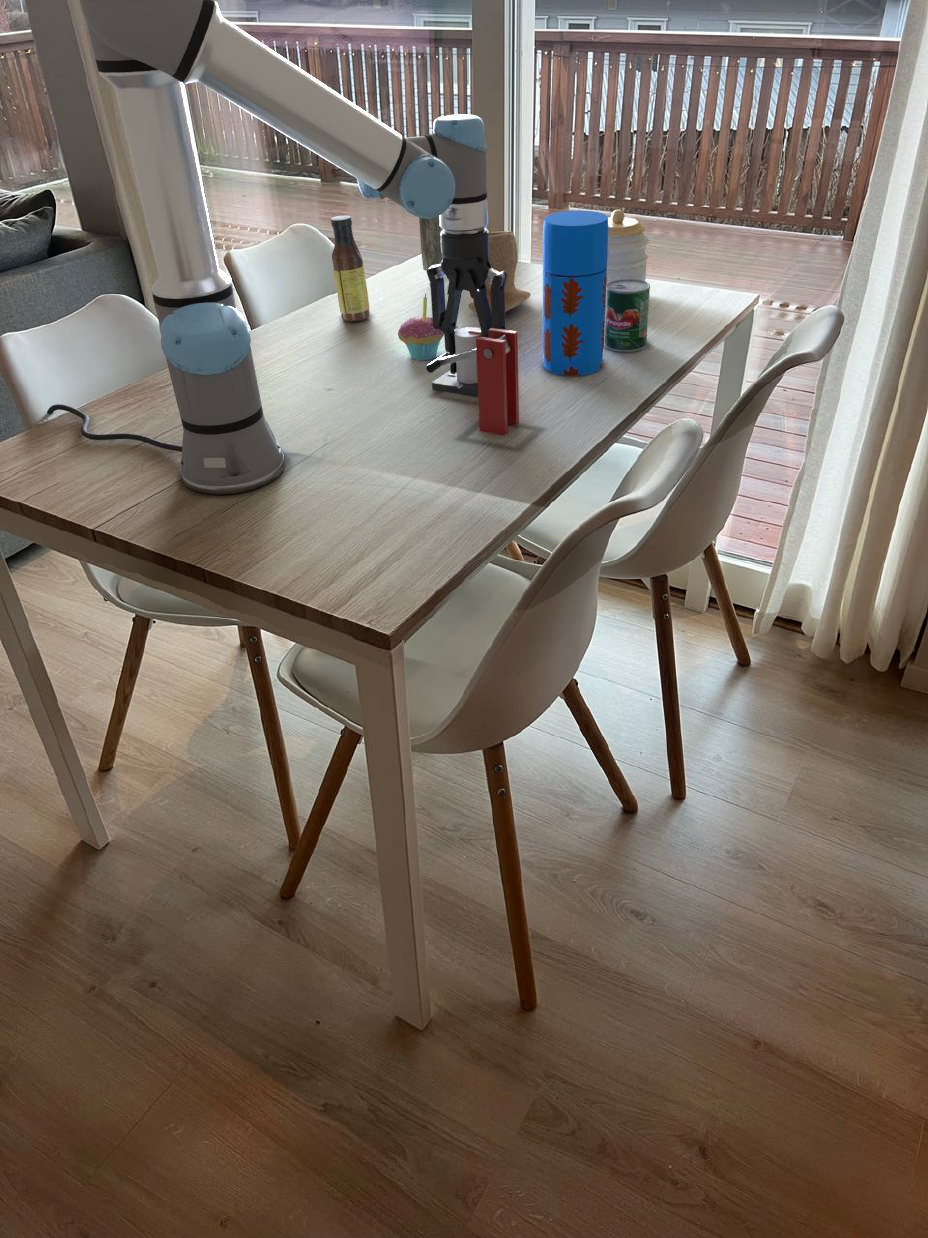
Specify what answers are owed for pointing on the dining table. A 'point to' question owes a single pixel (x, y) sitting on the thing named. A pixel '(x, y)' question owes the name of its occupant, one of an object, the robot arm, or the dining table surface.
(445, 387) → the dial panel
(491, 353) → the red lever stand
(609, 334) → the canned tomato
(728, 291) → the dining table surface
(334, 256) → the sauce bottle
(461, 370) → the knob
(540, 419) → the dining table surface
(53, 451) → the dining table surface
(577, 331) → the thermos
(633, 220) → the jar
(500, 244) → the tan piece
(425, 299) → the cupcake
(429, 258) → the tabletop clock
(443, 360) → the lever
